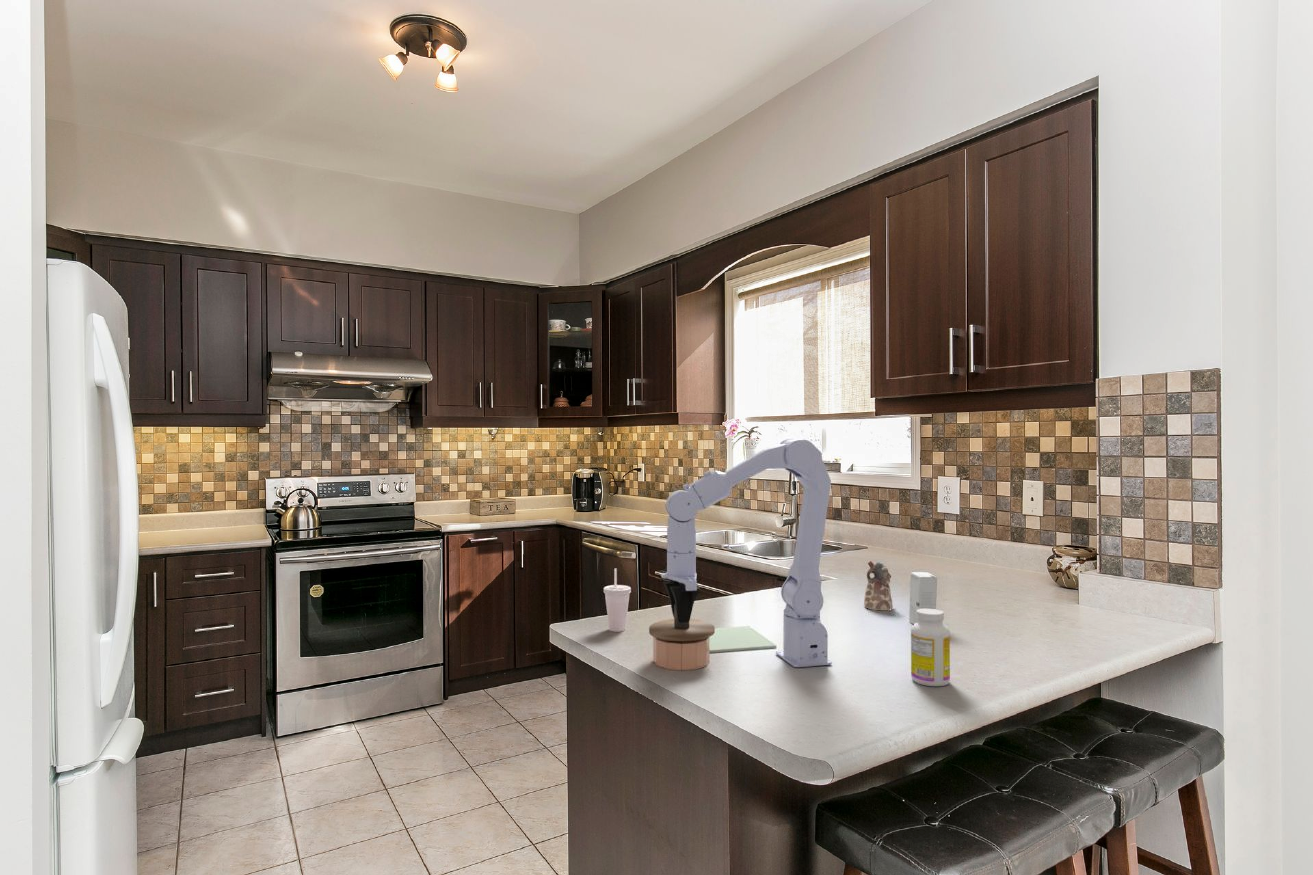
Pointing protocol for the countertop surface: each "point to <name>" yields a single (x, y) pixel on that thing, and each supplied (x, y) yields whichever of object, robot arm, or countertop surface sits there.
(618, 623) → the smoothie
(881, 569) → the figurine
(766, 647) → the mat
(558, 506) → the countertop surface
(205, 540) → the countertop surface
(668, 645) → the bowl
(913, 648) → the supplement bottle
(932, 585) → the skincare box
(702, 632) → the lid
